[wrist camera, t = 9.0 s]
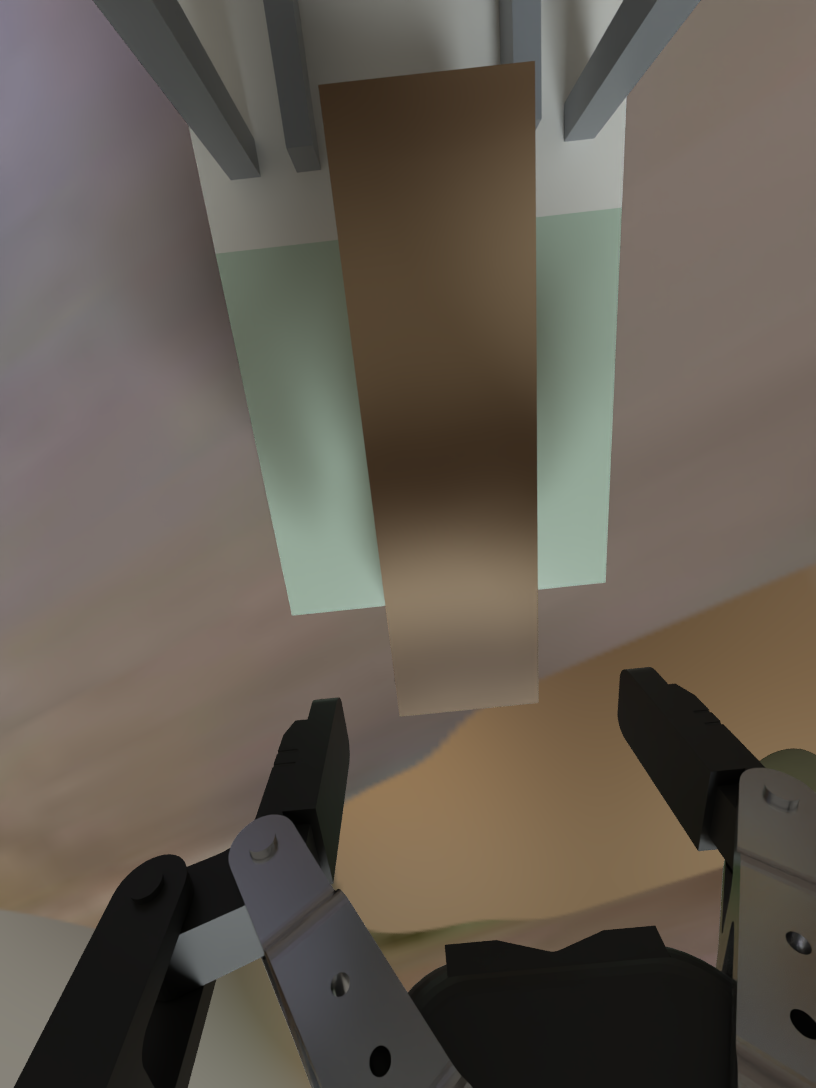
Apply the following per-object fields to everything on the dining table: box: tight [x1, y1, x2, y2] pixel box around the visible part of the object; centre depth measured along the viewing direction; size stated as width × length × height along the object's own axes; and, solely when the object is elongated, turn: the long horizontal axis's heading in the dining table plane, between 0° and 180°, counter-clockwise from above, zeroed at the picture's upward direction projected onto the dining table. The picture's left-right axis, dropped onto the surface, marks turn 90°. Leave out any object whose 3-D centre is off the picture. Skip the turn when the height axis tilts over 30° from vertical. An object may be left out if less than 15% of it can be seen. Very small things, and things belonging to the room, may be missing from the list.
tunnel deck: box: [93, 0, 700, 616], centre depth 12 cm, size 31×14×13 cm, turn 6°
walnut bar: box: [318, 61, 538, 717], centre depth 14 cm, size 16×4×6 cm, turn 6°
